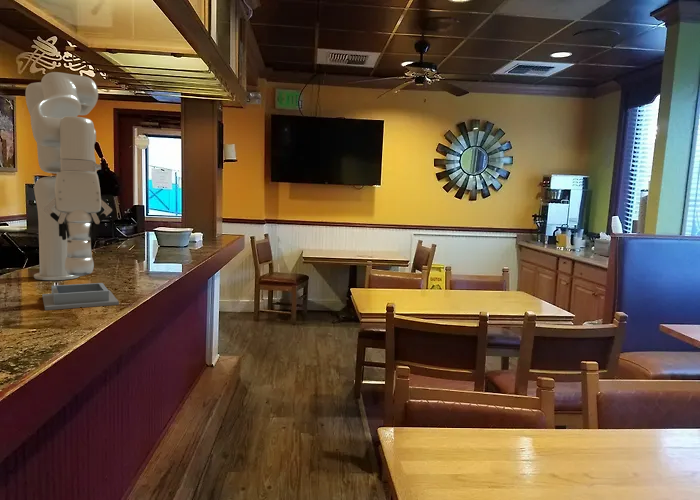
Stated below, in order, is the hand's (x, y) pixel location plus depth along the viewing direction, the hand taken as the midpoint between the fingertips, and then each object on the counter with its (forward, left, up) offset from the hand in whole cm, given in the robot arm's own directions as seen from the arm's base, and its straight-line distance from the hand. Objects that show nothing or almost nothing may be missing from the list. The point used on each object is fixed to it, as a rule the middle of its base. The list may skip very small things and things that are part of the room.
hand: (79, 238), depth 128 cm
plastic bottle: (0, 0, -10) cm, 10 cm away
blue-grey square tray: (0, 0, -16) cm, 16 cm away
